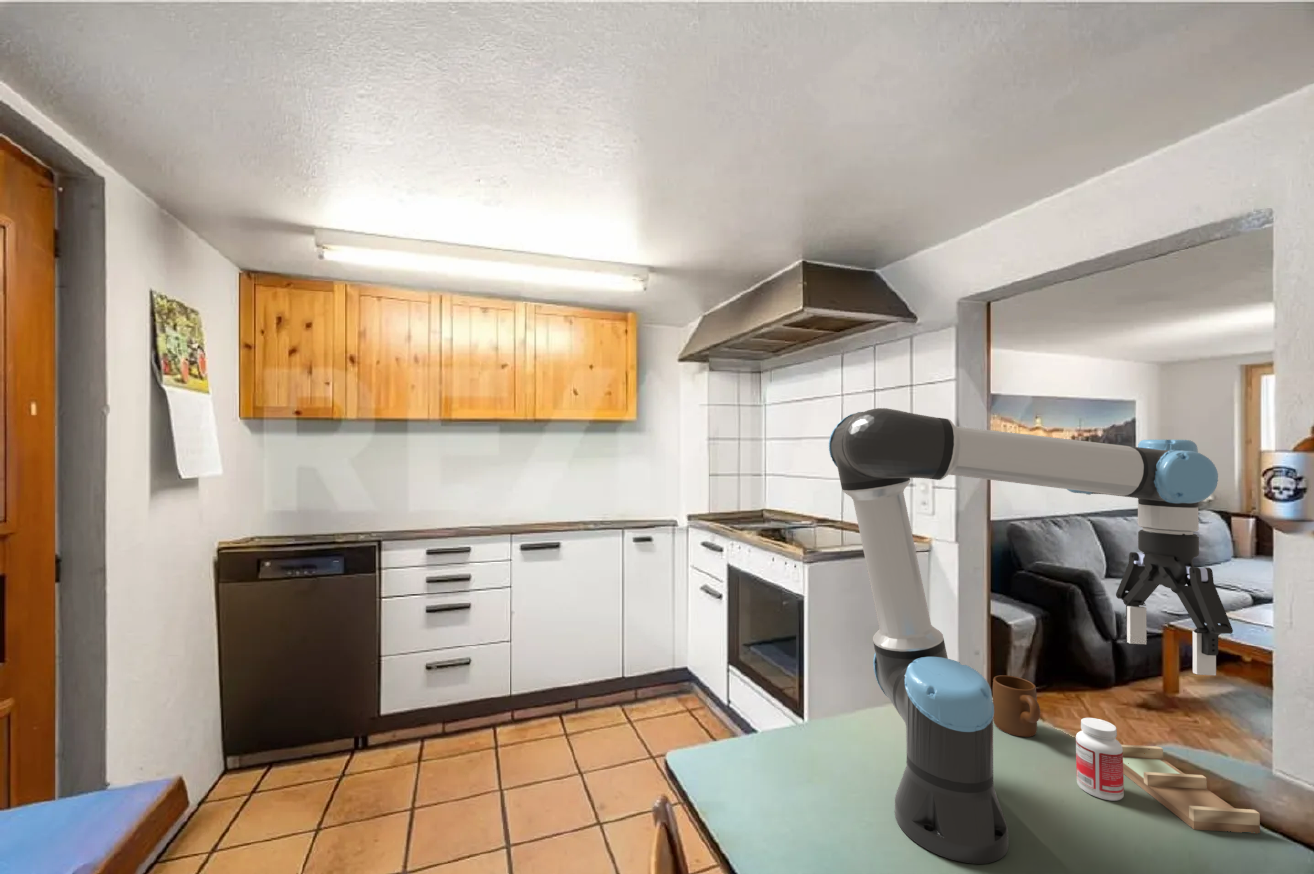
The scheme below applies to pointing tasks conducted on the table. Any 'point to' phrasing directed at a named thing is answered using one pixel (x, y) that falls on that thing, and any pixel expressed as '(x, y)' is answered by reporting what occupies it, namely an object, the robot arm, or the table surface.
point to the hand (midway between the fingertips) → (1168, 657)
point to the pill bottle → (1099, 760)
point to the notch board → (1184, 792)
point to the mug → (1015, 705)
